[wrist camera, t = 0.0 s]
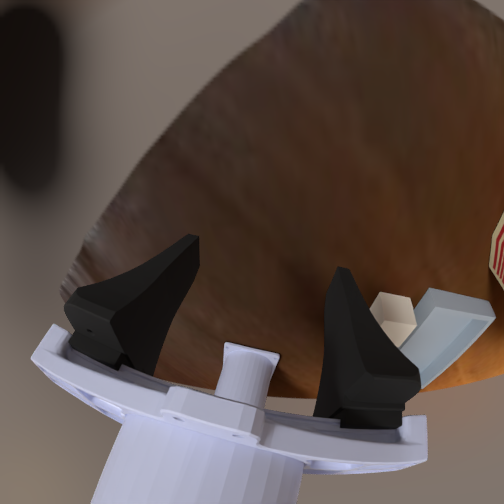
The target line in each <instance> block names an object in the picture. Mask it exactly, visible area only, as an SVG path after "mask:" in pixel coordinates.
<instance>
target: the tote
mask: <svg viewBox="0 0 504 504" xmlns="http://www.w3.org/2000/svg"><path fill="white" fill-rule="evenodd" d="M413 311H414V315H415V319H416V323H417V326H416V327H415V329H414V330H413V331H412V332H411V334H410V335H409V336H408V337H407V338H406V340H405V341H404V342H403V343H402V344H401V345H400V346H399V347H397V348H398V349H399V350H400V351H401V352H402V353H403V354H404V355H405V356H406V357H407V358H408V359H409V360H410V361H411V362H412V363H413V364H415V365H416V366H417V367H418V368H419V372H420V378H421V389H423V388H424V387H425V386H427V385H428V384H429V383H430V382H432V381H433V380H434V379H435V378H436V377H438V376H439V375H440V374H441V373H442V372H443V371H445V370H446V369H447V368H448V367H449V366H450V365H451V364H452V363H453V362H454V361H456V360H457V359H458V358H459V357H460V356H461V355H462V354H463V353H464V352H465V351H466V350H467V349H468V348H469V347H470V346H471V345H472V344H473V343H474V342H475V341H476V340H477V339H478V337H479V336H480V335H481V334H482V333H483V332H484V331H485V330H486V329H487V328H488V326H489V325H490V324H491V323H492V322H493V321H494V319H495V318H496V316H495V314H494V312H493V309H492V307H491V305H490V302H489V301H486V300H482V299H477V298H473V297H468V296H464V295H459V294H455V293H451V292H446V291H442V290H437V289H433V288H429V289H428V290H427V292H426V293H425V295H424V296H423V298H422V299H421V300H420V302H419V303H418V305H417V306H416V308H415V309H414V310H413Z"/></svg>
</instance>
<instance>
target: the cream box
mask: <svg viewBox="0 0 504 504" xmlns="http://www.w3.org/2000/svg"><path fill="white" fill-rule="evenodd" d="M370 311H371V313H372V314H373V316H374V318H375V319H376V321H377V322H378V324H379V325H380V326H381V328H382V329H383V331H384V332H385V333H386V335H387V336H388V337H389V338H390V340H391V341H392V342H393V343H394V344H395V346H396V347H399V346H400V345H401V344H402V343H403V342H404V341H405V340H406V338H407V337H408V336H409V335H410V334H411V332H412V331H413V330H414V329H415V327H416V326H417V323H416V319H415V315H414V311H413V307H412V303H411V299H410V298H408V297H403V296H398V295H393V294H388V293H384V292H379V294H378V296H377V298H376V299H375V301H374V303H373V304H372V306H371V308H370Z"/></svg>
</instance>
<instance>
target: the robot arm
mask: <svg viewBox="0 0 504 504" xmlns="http://www.w3.org/2000/svg"><path fill="white" fill-rule="evenodd" d="M199 266H200V260H199V236H196V235H191V234H188V235H186V236H185V237H183V238H182V239H180V240H179V241H177V242H176V243H174V244H173V245H172V246H170V247H169V248H167V249H166V250H164V251H163V252H161V253H160V254H158V255H157V256H155V257H153V258H152V259H150V260H149V261H147V262H145V263H144V264H142V265H140V266H138V267H136V268H134V269H132V270H130V271H128V272H125V273H123V274H121V275H118V276H116V277H114V278H111V279H108V280H105V281H102V282H99V283H95V284H91V285H87V286H83V287H79V288H77V289H76V291H75V292H74V293H73V294H72V296H71V297H70V298H69V300H68V301H67V302H66V303H65V305H64V311H65V314H66V316H67V318H68V319H69V321H70V323H71V324H72V326H73V328H74V329H75V332H74V333H73V335H72V334H71V333H70V332H68V331H67V330H65V329H63V328H61V327H60V326H58V325H56V324H53V325H52V327H51V328H50V329H49V331H48V332H47V334H46V335H45V337H44V338H43V340H42V341H41V343H40V344H39V346H38V347H37V349H36V350H35V352H34V353H33V355H32V357H31V360H32V361H33V362H34V363H35V364H36V365H37V366H38V367H39V368H40V369H41V370H42V371H43V372H44V373H45V375H46V376H47V377H48V378H49V379H51V380H52V381H53V382H54V383H56V384H57V385H58V386H60V387H61V388H63V389H64V390H66V391H67V392H69V393H71V394H72V395H74V396H75V397H77V398H78V399H80V400H81V401H83V402H85V403H86V404H88V405H89V406H91V407H93V408H94V409H96V410H98V411H99V412H101V413H103V414H105V415H106V416H108V417H110V418H112V419H114V420H115V421H117V422H119V423H121V424H123V425H122V427H121V429H120V432H119V434H118V436H117V438H116V441H115V443H114V446H113V448H112V451H111V453H110V455H109V458H108V460H107V462H106V465H105V467H104V470H103V472H102V475H101V477H100V480H99V482H98V485H97V488H96V490H95V493H94V496H93V498H92V501H91V503H90V504H296V503H297V498H298V493H299V489H300V483H301V478H302V474H360V473H373V472H385V471H396V470H400V469H404V468H407V467H410V466H413V465H416V464H419V463H422V462H425V461H426V460H427V459H428V441H427V419H426V415H408V416H404V417H402V411H404V410H405V402H407V401H408V400H410V399H411V398H412V397H414V396H415V395H416V394H417V393H418V392H419V391H420V389H421V378H420V372H419V368H418V367H417V366H416V365H415V364H413V363H412V362H411V361H410V360H409V359H408V358H407V357H406V356H405V355H404V354H403V353H402V352H401V351H400V350H399V349H398V348H397V347H396V346H395V344H394V343H393V342H392V341H391V340H390V338H389V337H388V336H387V335H386V333H385V332H384V331H383V329H382V328H381V326H380V325H379V324H378V322H377V321H376V319H375V318H374V316H373V314H372V313H371V311H370V309H369V308H368V306H367V304H366V302H365V300H364V298H363V296H362V294H361V293H360V291H359V289H358V286H357V284H356V282H355V280H354V278H353V276H352V274H351V272H350V270H349V269H347V268H342V267H337V270H336V272H335V275H334V277H333V279H332V282H331V284H330V286H329V289H328V291H327V294H326V300H325V310H324V359H323V367H322V374H321V380H320V386H319V391H318V396H317V401H316V405H315V410H314V413H313V417H312V416H304V415H297V414H291V413H285V412H279V411H273V410H268V409H264V407H265V402H266V398H267V393H268V388H269V383H270V380H271V377H272V375H273V372H274V370H275V368H276V365H277V363H278V360H279V358H280V355H279V354H277V353H273V352H268V351H263V350H259V349H254V348H250V347H246V346H242V345H238V344H234V343H230V342H225V344H224V361H223V369H222V372H221V375H220V378H219V381H218V384H217V387H216V390H215V394H214V395H212V394H208V393H205V392H202V391H198V390H195V389H192V388H188V387H183V386H177V385H174V384H172V383H169V382H166V381H163V380H160V379H158V378H155V377H153V374H154V371H155V367H156V364H157V361H158V358H159V355H160V352H161V349H162V346H163V343H164V340H165V338H166V335H167V332H168V330H169V327H170V325H171V322H172V320H173V318H174V316H175V314H176V312H177V310H178V308H179V307H180V305H181V303H182V301H183V299H184V298H185V296H186V294H187V292H188V290H189V289H190V287H191V285H192V283H193V281H194V279H195V276H196V274H197V271H198V269H199Z"/></svg>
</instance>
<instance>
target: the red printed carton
mask: <svg viewBox="0 0 504 504" xmlns="http://www.w3.org/2000/svg"><path fill="white" fill-rule="evenodd" d="M489 267H490V269H491V270H492V272H493V274H494V275H495V277H496V278H497V280H498V281H499V283H500V285H501V286H502V288H503V290H504V212H503V214H502V217H501V219H500V221H499V223H498V225H497V227H496V229H495V231H494V233H493V235H492V245H491V253H490V261H489Z"/></svg>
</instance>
